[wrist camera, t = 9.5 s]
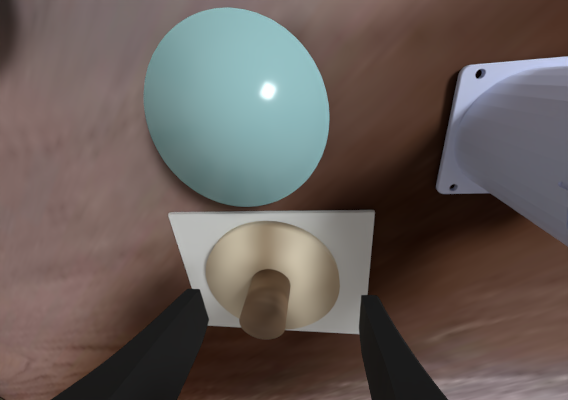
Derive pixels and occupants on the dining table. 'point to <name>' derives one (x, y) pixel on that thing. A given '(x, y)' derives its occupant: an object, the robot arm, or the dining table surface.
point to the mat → (322, 224)
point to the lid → (272, 277)
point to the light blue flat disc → (236, 107)
